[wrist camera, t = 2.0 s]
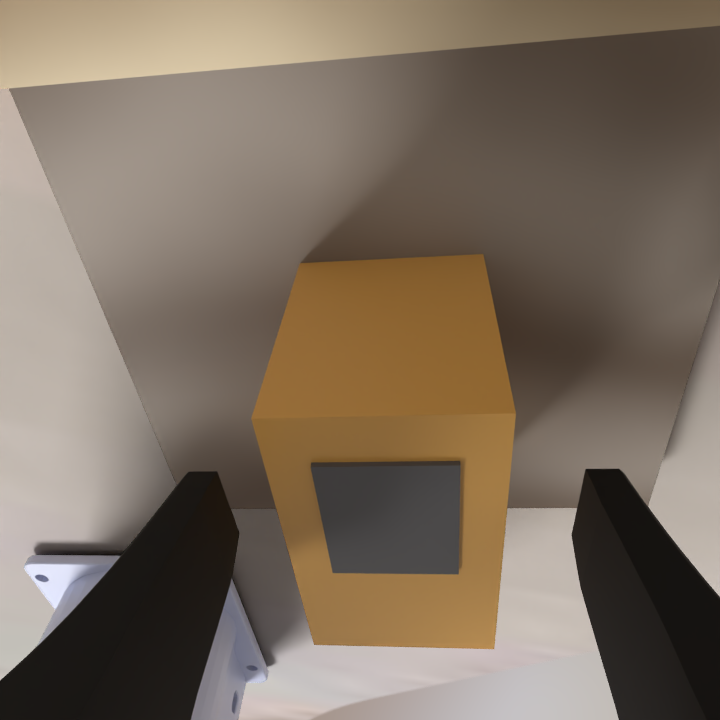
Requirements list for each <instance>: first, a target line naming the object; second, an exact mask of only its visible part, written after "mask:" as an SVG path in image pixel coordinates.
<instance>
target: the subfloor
mask: <svg viewBox="0 0 720 720" xmlns="http://www.w3.org/2000/svg"><path fill="white" fill-rule="evenodd" d="M8 88H9V90H10V92H11V94H12V97H13V99H14V101H15V104H16V106H17V108H18V111H19V113H20V116H21V118H22V120H23V123H24V125H25V127H26V130H27V132H28V134H29V137H30V139H31V142H32V144H33V146H34V149H35V151H36V153H37V156H38V158H39V161H40V163H41V165H42V168H43V170H44V172H45V175H46V177H47V179H48V182H49V184H50V187H51V189H52V191H53V194H54V196H55V198H56V201H57V203H58V205H59V208H60V210H61V213H62V215H63V217H64V220H65V222H66V224H67V227H68V229H69V232H70V234H71V236H72V239H73V241H74V243H75V246H76V248H77V250H78V253H79V255H80V258H81V260H82V262H83V265H84V267H85V269H86V272H87V274H88V276H89V279H90V281H91V284H92V286H93V288H94V291H95V293H96V295H97V298H98V300H99V303H100V305H101V307H102V310H103V312H104V314H105V317H106V319H107V321H108V324H109V326H110V329H111V331H112V333H113V336H114V338H115V340H116V343H117V345H118V347H119V350H120V352H121V355H122V357H123V359H124V362H125V364H126V366H127V369H128V371H129V373H130V376H131V378H132V381H133V383H134V385H135V388H136V390H137V392H138V395H139V397H140V400H141V402H142V404H143V407H144V409H145V411H146V414H147V416H148V418H149V421H150V423H151V426H152V428H153V430H154V433H155V435H156V437H157V440H158V442H159V444H160V447H161V449H162V452H163V454H164V456H165V459H166V461H167V463H168V466H169V468H170V471H171V473H172V475H173V478H174V480H175V482H176V485H178V483H179V482H180V481H181V480H182V478H183V477H184V476H185V475H186V474H187V473H188V472H193V471H217V472H218V475H219V477H220V480H221V483H222V486H223V489H224V491H225V494H226V497H227V500H228V503H229V505H230V508H231V509H276V506H275V502H274V499H273V495H272V492H271V488H270V484H269V481H268V477H267V474H266V470H265V466H264V463H263V459H262V456H261V452H260V448H259V445H258V441H257V438H256V434H255V430H254V427H253V423H252V420H251V418H252V414H253V411H254V408H255V405H256V402H257V399H258V395H259V392H260V389H261V386H262V383H263V379H264V376H265V373H266V370H267V367H268V363H269V360H270V357H271V354H272V351H273V347H274V344H275V341H276V338H277V335H278V331H279V328H280V325H281V322H282V319H283V315H284V312H285V309H286V306H287V303H288V299H289V296H290V293H291V290H292V287H293V283H294V280H295V277H296V274H297V271H298V267H299V264H300V263H314V262H334V261H354V260H374V259H394V258H414V257H435V256H455V255H475V254H483V255H484V260H485V265H486V269H487V274H488V279H489V284H490V289H491V294H492V299H493V304H494V309H495V313H496V318H497V323H498V328H499V333H500V338H501V343H502V348H503V352H504V357H505V362H506V367H507V372H508V377H509V382H510V387H511V392H512V396H513V401H514V406H515V411H516V418H515V429H514V440H513V451H512V462H511V472H510V483H509V494H508V505H507V508H577V507H578V502H579V497H580V493H581V488H582V483H583V478H584V473H585V469H620V470H621V471H622V472H624V474H625V475H626V476H627V478H628V479H629V481H630V482H631V484H632V485H633V487H634V488H635V489H636V491H637V492H638V494H639V495H640V496H641V498H642V499H643V501H644V502H645V503H646V505H647V506H648V504H649V501H650V498H651V495H652V491H653V488H654V485H655V482H656V479H657V476H658V473H659V469H660V466H661V463H662V460H663V457H664V454H665V451H666V447H667V444H668V441H669V438H670V435H671V432H672V428H673V425H674V422H675V419H676V416H677V413H678V410H679V406H680V403H681V400H682V397H683V394H684V391H685V388H686V384H687V381H688V378H689V375H690V372H691V369H692V366H693V362H694V359H695V356H696V353H697V350H698V347H699V343H700V340H701V337H702V334H703V331H704V328H705V325H706V321H707V318H708V315H709V312H710V309H711V306H712V303H713V299H714V296H715V293H716V290H717V287H718V284H719V281H720V0H0V89H8Z"/></svg>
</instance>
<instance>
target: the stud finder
mask: <svg viewBox="0 0 720 720" xmlns="http://www.w3.org/2000/svg"><path fill="white" fill-rule="evenodd" d="M515 418H516V411H515V406H514V401H513V396H512V392H511V387H510V382H509V377H508V372H507V367H506V362H505V357H504V352H503V348H502V343H501V338H500V333H499V328H498V323H497V318H496V313H495V309H494V304H493V299H492V294H491V289H490V284H489V279H488V274H487V269H486V265H485V260H484V255H483V254H475V255H455V256H435V257H414V258H394V259H374V260H354V261H334V262H314V263H300V264H299V267H298V271H297V274H296V277H295V280H294V283H293V287H292V290H291V293H290V296H289V299H288V303H287V306H286V309H285V312H284V315H283V319H282V322H281V325H280V328H279V331H278V335H277V338H276V341H275V344H274V347H273V351H272V354H271V357H270V360H269V363H268V367H267V370H266V373H265V376H264V379H263V383H262V386H261V389H260V392H259V395H258V399H257V402H256V405H255V408H254V411H253V414H252V418H251V420H252V423H253V427H254V430H255V434H256V438H257V441H258V445H259V448H260V452H261V456H262V459H263V463H264V466H265V470H266V474H267V477H268V481H269V484H270V488H271V492H272V495H273V499H274V502H275V506H276V509H277V513H278V517H279V520H280V524H281V527H282V531H283V535H284V538H285V542H286V545H287V549H288V553H289V556H290V560H291V563H292V567H293V571H294V574H295V578H296V581H297V585H298V588H299V592H300V596H301V599H302V603H303V606H304V610H305V614H306V617H307V621H308V624H309V628H310V632H311V635H312V639H313V642H314V645H346V646H388V647H430V648H472V649H494V645H495V634H496V623H497V613H498V602H499V591H500V580H501V570H502V559H503V548H504V537H505V526H506V516H507V505H508V494H509V483H510V472H511V462H512V451H513V440H514V429H515Z"/></svg>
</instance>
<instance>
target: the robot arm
mask: <svg viewBox="0 0 720 720" xmlns="http://www.w3.org/2000/svg"><path fill="white" fill-rule="evenodd" d="M238 538H239V531H238V528H237V525H236V522H235V520H234V517H233V514H232V511H231V508H230V505H229V503H228V500H227V497H226V494H225V491H224V489H223V486H222V483H221V480H220V477H219V475H218V472H217V471H193V472H188V473H187V474H186V475H185V476H184V477H183V478H182V480H181V481H180V482H179V483H178V485H177V486H176V487H175V489H174V490H173V491H172V492H171V494H170V495H169V496H168V498H167V499H166V500H165V501H164V503H163V504H162V505H161V507H160V508H159V509H158V510H157V512H156V513H155V514H154V516H153V517H152V518H151V519H150V521H149V522H148V523H147V524H146V526H145V527H144V528H143V529H142V531H141V532H140V533H139V534H138V536H137V537H136V538H135V539H134V540H133V542H132V543H131V544H130V545H129V546H128V548H127V549H126V550H125V551H124V553H123V554H122V555H121V556H100V555H33V556H31V557H29V558H28V560H27V561H26V563H25V565H24V568H25V570H26V572H27V573H28V575H29V576H30V577H31V579H32V580H33V581H34V582H35V584H36V585H37V586H38V588H39V589H40V590H41V592H42V593H43V594H44V596H45V597H46V598H47V600H48V601H49V602H50V604H51V605H52V606H53V608H54V609H55V612H54V614H53V615H52V617H51V619H50V621H49V623H48V625H47V627H46V629H45V631H44V633H43V635H42V637H41V639H40V641H39V643H38V645H37V647H36V648H35V649H34V650H33V651H32V652H31V653H30V654H29V655H28V656H27V657H25V658H24V659H23V660H22V661H21V662H20V663H19V664H18V665H17V666H16V667H15V668H14V669H12V670H11V671H10V672H9V673H8V674H7V675H6V676H5V677H4V678H3V679H1V680H0V720H238V718H239V713H240V709H241V704H242V699H243V694H244V690H245V685H246V683H262V682H265V681H266V680H267V677H268V669H267V666H266V664H265V661H264V659H263V656H262V653H261V651H260V648H259V646H258V643H257V641H256V638H255V636H254V633H253V631H252V628H251V626H250V623H249V620H248V618H247V615H246V613H245V610H244V608H243V605H242V603H241V600H240V598H239V595H238V593H237V590H236V587H235V585H234V582H233V580H232V573H233V568H234V563H235V557H236V551H237V545H238ZM572 540H573V546H574V552H575V558H576V564H577V570H578V575H579V581H580V586H581V590H582V594H583V597H584V601H585V604H586V608H587V611H588V615H589V618H590V622H591V625H592V628H593V632H594V635H595V639H596V642H597V645H598V649H599V652H600V656H601V659H602V662H603V666H604V669H605V673H606V676H607V679H608V683H609V686H610V690H611V693H612V696H613V700H614V703H615V707H616V710H617V714H618V718H619V720H720V597H719V596H718V594H717V593H716V592H715V591H714V590H713V589H712V587H711V586H710V585H709V584H708V583H707V582H706V580H705V579H704V578H703V577H702V575H701V574H700V573H699V572H698V571H697V569H696V568H695V567H694V566H693V564H692V563H691V562H690V561H689V559H688V558H687V557H686V556H685V555H684V553H683V552H682V551H681V550H680V548H679V547H678V546H677V545H676V543H675V542H674V541H673V539H672V538H671V537H670V536H669V534H668V533H667V532H666V530H665V529H664V528H663V526H662V525H661V524H660V522H659V521H658V520H657V518H656V517H655V516H654V514H653V513H652V512H651V510H650V509H649V508H648V506H647V505H646V503H645V502H644V501H643V499H642V498H641V496H640V495H639V494H638V492H637V491H636V489H635V488H634V487H633V485H632V484H631V482H630V481H629V479H628V478H627V476H626V475H625V474H624V472H622V471H621V470H620V469H585V473H584V478H583V483H582V488H581V493H580V497H579V502H578V507H577V512H576V517H575V522H574V526H573V531H572Z"/></svg>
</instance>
